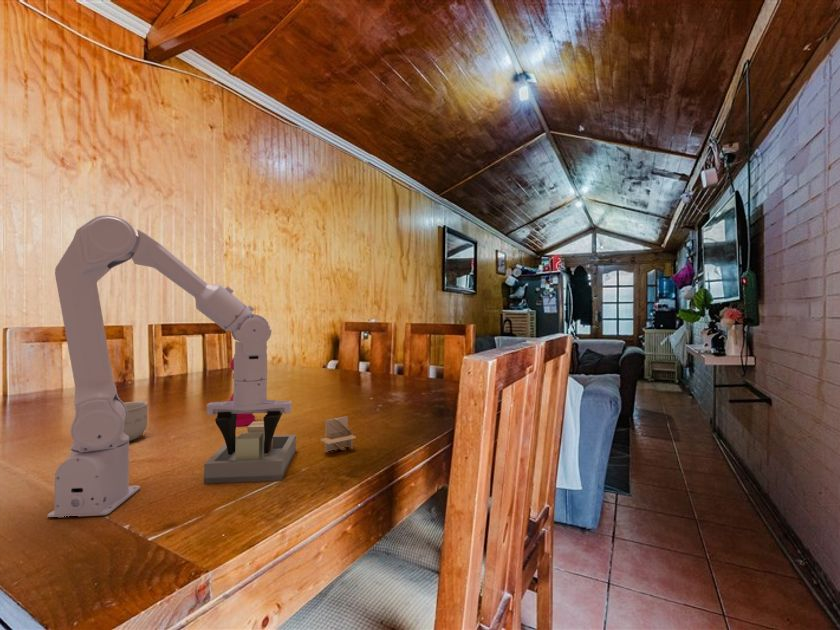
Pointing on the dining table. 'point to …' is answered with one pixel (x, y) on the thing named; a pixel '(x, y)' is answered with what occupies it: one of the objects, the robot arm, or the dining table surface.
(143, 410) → the teacup
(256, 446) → the sage block
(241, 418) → the pepper mill
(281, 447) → the tray
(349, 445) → the architectural model
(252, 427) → the brown metal block
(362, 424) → the dining table surface
